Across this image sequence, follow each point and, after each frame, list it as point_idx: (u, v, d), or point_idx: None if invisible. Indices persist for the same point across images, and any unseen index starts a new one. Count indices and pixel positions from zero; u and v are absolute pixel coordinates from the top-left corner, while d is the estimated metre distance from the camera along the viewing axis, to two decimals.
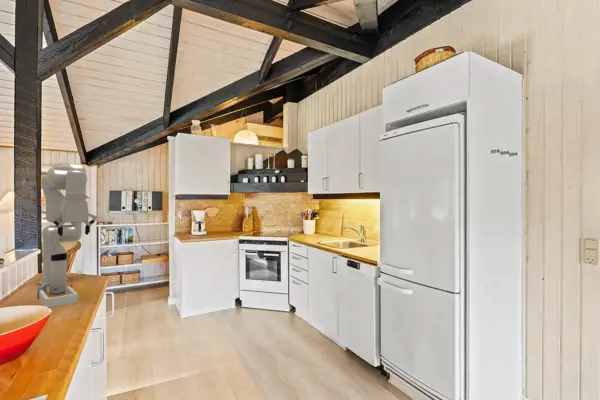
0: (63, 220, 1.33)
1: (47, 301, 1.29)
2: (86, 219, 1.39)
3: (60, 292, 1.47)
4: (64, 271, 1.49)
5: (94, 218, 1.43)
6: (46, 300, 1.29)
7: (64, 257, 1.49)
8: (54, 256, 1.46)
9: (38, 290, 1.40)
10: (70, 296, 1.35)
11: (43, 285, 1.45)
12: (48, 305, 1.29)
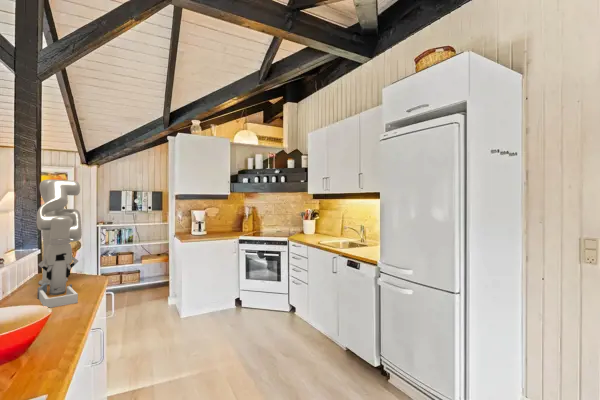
0: (48, 264, 1.44)
1: (47, 301, 1.29)
2: (70, 261, 1.50)
3: (60, 292, 1.47)
4: (64, 271, 1.49)
5: (75, 262, 1.53)
6: (46, 300, 1.29)
7: (64, 257, 1.49)
8: None
9: (38, 290, 1.40)
10: (70, 296, 1.35)
11: (43, 285, 1.45)
12: (48, 305, 1.29)
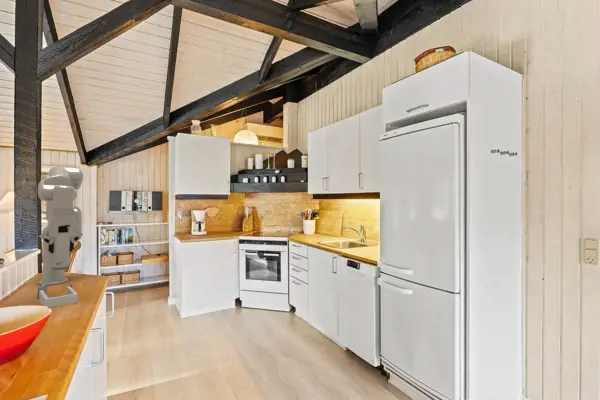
0: (50, 236, 1.32)
1: (47, 301, 1.29)
2: (73, 234, 1.38)
3: (63, 267, 1.35)
4: (68, 244, 1.37)
5: (79, 235, 1.41)
6: (46, 300, 1.29)
7: None
8: None
9: (38, 290, 1.40)
10: (70, 296, 1.35)
11: (43, 285, 1.45)
12: (48, 305, 1.29)
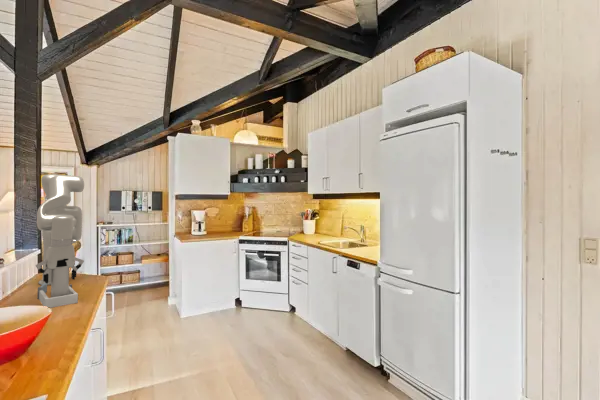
0: (48, 267, 1.32)
1: (47, 301, 1.29)
2: (72, 264, 1.38)
3: None
4: (66, 278, 1.37)
5: (81, 262, 1.42)
6: (46, 300, 1.29)
7: (66, 263, 1.36)
8: None
9: (38, 290, 1.40)
10: (70, 296, 1.35)
11: (43, 285, 1.45)
12: (48, 305, 1.29)
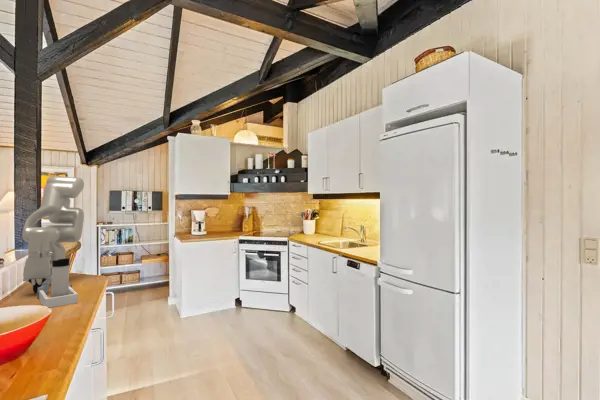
0: (24, 277, 1.42)
1: (47, 301, 1.29)
2: (47, 275, 1.46)
3: None
4: (66, 278, 1.37)
5: (47, 278, 1.47)
6: (46, 300, 1.29)
7: (66, 263, 1.37)
8: (56, 262, 1.34)
9: (38, 290, 1.40)
10: (70, 296, 1.35)
11: (44, 285, 1.45)
12: (48, 305, 1.29)
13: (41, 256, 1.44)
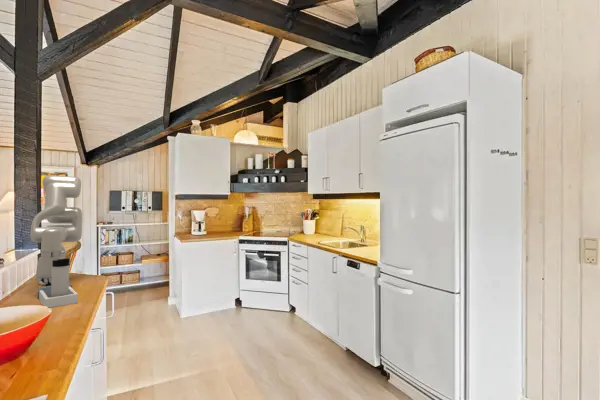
0: (37, 276, 1.43)
1: (47, 301, 1.29)
2: None
3: None
4: (67, 278, 1.37)
5: None
6: (46, 300, 1.29)
7: (67, 263, 1.37)
8: (56, 262, 1.34)
9: None
10: (70, 296, 1.35)
11: None
12: (48, 305, 1.29)
13: (53, 255, 1.45)
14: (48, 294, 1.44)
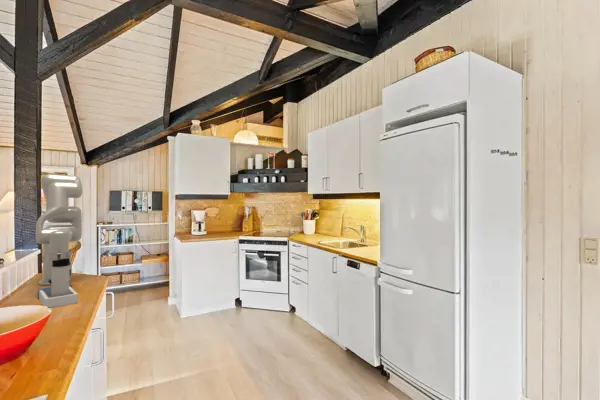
0: (44, 277, 1.44)
1: (47, 301, 1.29)
2: None
3: None
4: (66, 278, 1.37)
5: None
6: (46, 300, 1.29)
7: (66, 263, 1.37)
8: (56, 262, 1.34)
9: None
10: (70, 296, 1.35)
11: None
12: (48, 305, 1.29)
13: (60, 258, 1.44)
14: (49, 295, 1.43)
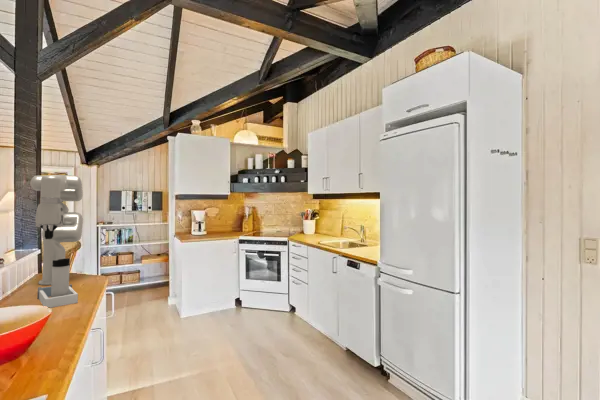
0: (36, 222, 1.44)
1: (47, 301, 1.29)
2: (57, 222, 1.47)
3: None
4: (67, 278, 1.37)
5: (58, 225, 1.48)
6: (46, 300, 1.29)
7: (67, 263, 1.37)
8: (56, 262, 1.34)
9: None
10: (70, 296, 1.35)
11: None
12: (48, 305, 1.29)
13: (51, 202, 1.45)
14: (49, 295, 1.43)
